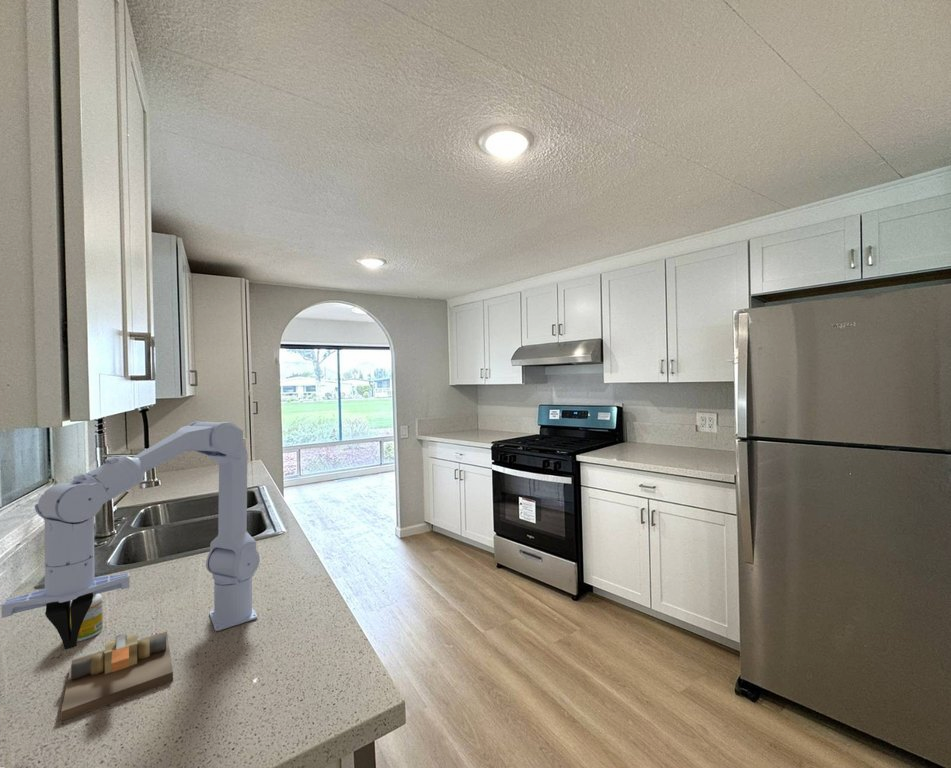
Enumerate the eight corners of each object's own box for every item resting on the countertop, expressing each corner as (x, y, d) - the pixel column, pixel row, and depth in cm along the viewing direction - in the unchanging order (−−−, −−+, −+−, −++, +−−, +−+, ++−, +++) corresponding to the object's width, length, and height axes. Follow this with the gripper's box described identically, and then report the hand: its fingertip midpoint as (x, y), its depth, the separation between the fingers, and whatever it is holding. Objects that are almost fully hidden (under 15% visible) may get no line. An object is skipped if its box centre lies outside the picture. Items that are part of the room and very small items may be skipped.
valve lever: (113, 642, 77) (113, 634, 77) (129, 637, 78) (129, 629, 78) (111, 672, 68) (111, 663, 68) (129, 666, 70) (128, 657, 70)
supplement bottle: (64, 636, 88) (64, 589, 88) (99, 624, 92) (98, 579, 92) (70, 645, 85) (70, 596, 85) (105, 633, 89) (105, 586, 89)
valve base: (72, 668, 78) (71, 640, 78) (166, 638, 86) (166, 613, 87) (61, 721, 65) (60, 688, 65) (173, 680, 74) (172, 651, 74)
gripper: (-4, 582, 60) (-4, 679, 60) (129, 555, 69) (129, 639, 69) (7, 566, 65) (7, 654, 65) (129, 543, 74) (129, 621, 74)
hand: (70, 645), depth 67 cm, fingers closed
